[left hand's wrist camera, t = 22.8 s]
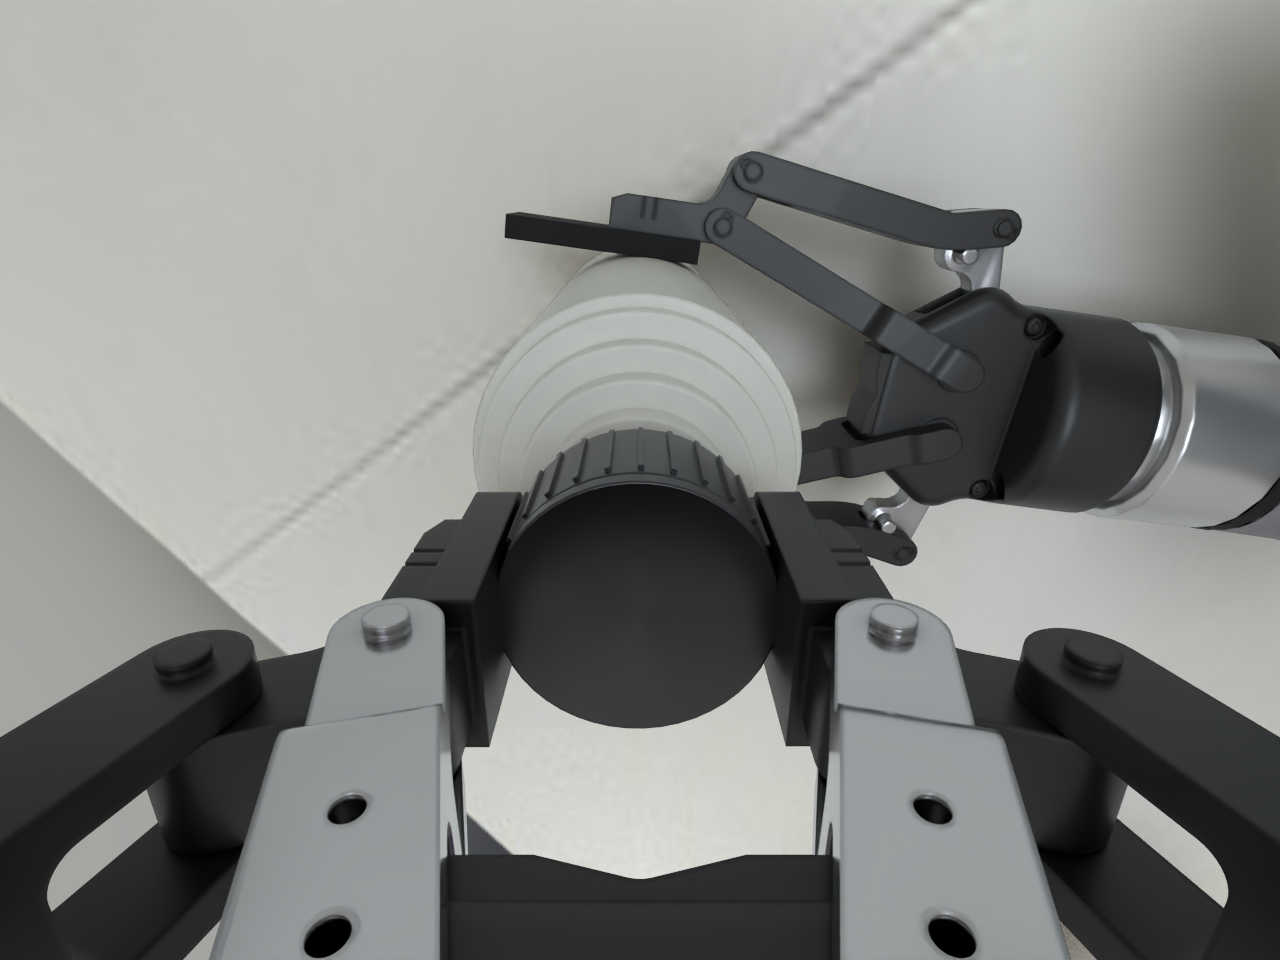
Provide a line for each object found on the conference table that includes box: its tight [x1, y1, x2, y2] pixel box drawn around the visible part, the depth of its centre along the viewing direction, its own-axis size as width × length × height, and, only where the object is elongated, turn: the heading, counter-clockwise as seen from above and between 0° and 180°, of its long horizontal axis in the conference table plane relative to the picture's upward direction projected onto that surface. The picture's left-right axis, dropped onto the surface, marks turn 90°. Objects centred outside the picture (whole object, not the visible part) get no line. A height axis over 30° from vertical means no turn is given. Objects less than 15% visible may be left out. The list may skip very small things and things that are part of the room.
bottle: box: [473, 252, 802, 498], centre depth 21 cm, size 7×7×23 cm
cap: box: [498, 427, 778, 728], centre depth 11 cm, size 4×4×2 cm
